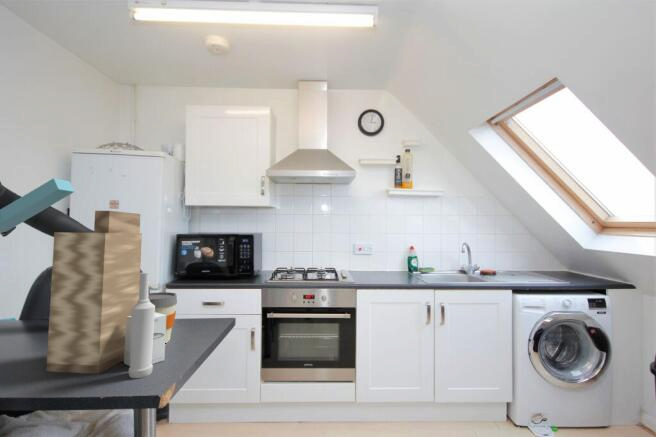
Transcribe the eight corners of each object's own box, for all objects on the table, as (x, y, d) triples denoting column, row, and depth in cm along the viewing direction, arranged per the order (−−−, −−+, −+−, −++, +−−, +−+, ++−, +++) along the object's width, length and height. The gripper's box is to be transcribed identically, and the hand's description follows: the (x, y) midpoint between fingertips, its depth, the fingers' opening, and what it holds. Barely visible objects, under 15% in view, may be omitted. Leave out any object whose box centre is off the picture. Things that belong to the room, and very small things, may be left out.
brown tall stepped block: (46, 371, 80) (55, 210, 82) (91, 351, 94) (98, 214, 96) (98, 373, 79) (106, 210, 81) (136, 353, 93) (142, 214, 95)
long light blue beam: (-20, 231, 88) (-16, 178, 89) (0, 231, 93) (4, 181, 94) (55, 232, 87) (59, 178, 88) (72, 233, 92) (75, 181, 92)
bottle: (135, 370, 81) (139, 271, 83) (156, 369, 82) (160, 271, 83) (123, 379, 76) (128, 274, 78) (146, 378, 77) (150, 274, 78)
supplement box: (137, 370, 81) (139, 320, 82) (123, 363, 85) (125, 316, 86) (165, 360, 87) (167, 314, 88) (150, 355, 91) (152, 310, 92)
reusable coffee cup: (182, 342, 102) (183, 295, 103) (138, 353, 93) (140, 301, 94) (167, 334, 111) (168, 290, 112) (125, 342, 102) (127, 295, 102)
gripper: (-80, 232, 85) (-27, 201, 84) (-18, 233, 99) (28, 206, 98) (-70, 257, 84) (-16, 226, 83) (-8, 254, 98) (38, 227, 98)
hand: (7, 215), depth 91 cm, fingers closed on long light blue beam, 5 cm apart
